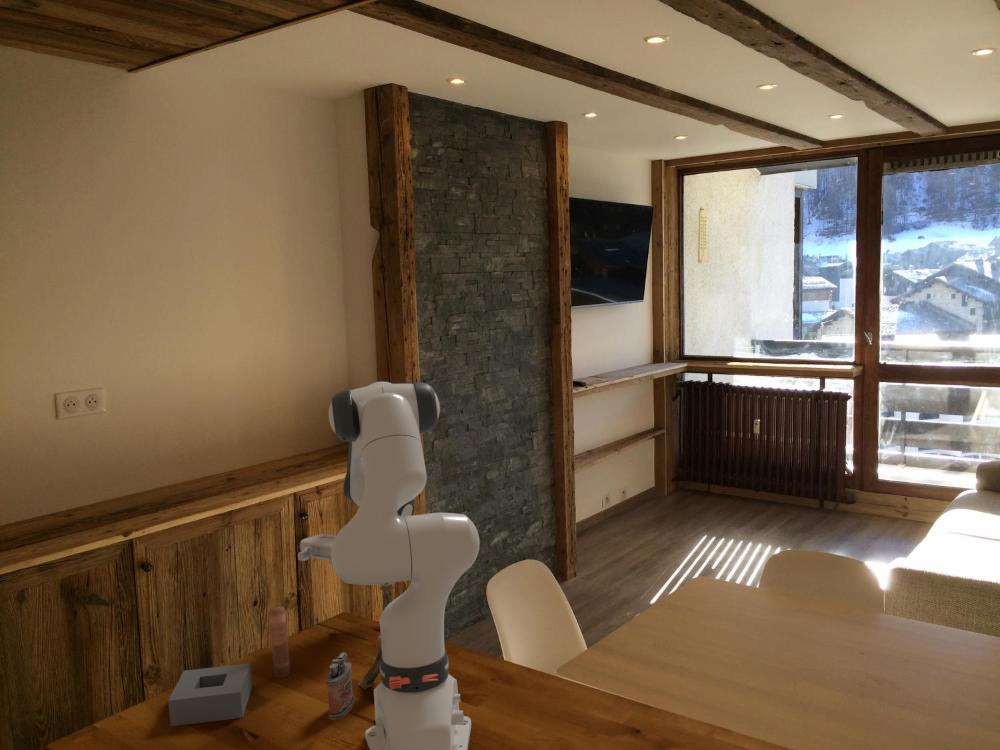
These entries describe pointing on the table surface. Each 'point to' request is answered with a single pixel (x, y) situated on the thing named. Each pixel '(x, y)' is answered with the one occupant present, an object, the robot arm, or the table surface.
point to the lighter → (339, 688)
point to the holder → (210, 694)
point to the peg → (279, 642)
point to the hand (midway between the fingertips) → (315, 560)
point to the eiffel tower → (375, 668)
